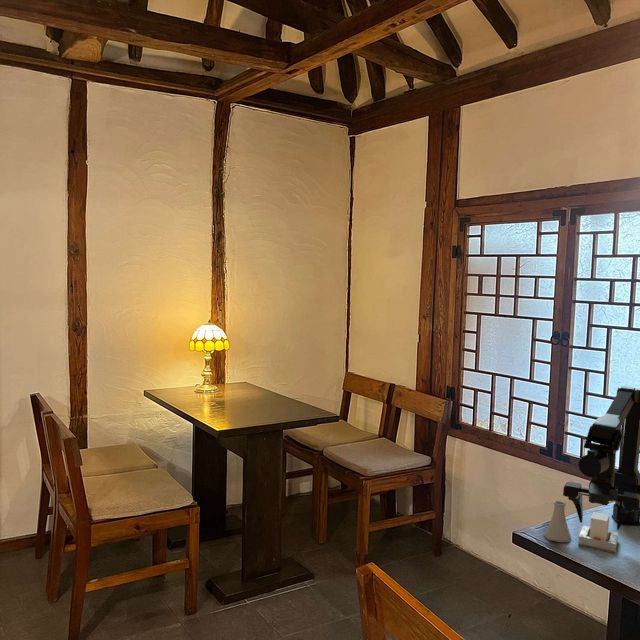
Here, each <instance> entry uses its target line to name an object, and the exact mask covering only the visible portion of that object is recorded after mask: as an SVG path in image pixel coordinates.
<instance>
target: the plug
mask: <svg viewBox="0 0 640 640" xmlns="http://www.w3.org/2000/svg"><path fill="white" fill-rule="evenodd" d="M609 525H610V514H606V513H602V512H597V511H593V512H592V515H591V516H590V525H589V527H590V537H591V538H594V537H599V538H601V540H605V541H607V540H608V531H609Z"/></svg>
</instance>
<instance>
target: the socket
mask: <svg viewBox="0 0 640 640" xmlns="http://www.w3.org/2000/svg"><path fill="white" fill-rule="evenodd" d="M577 543H578V544H577V546H579V545H581V547H584V546H585V547H586V548H588V547H589V548H588V549H594V550H598V551H603V552H606V553H611V554H616V551H617V547H618V544H619V532H617V531H612V530H608V540H607V541H605V540H601V538H599V537H594V538H591V537H590V526H587V525H584V524H583V525H582V528H581V531H580V532H579V534H578V542H577ZM585 547H584V548H585Z"/></svg>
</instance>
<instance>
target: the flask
mask: <svg viewBox="0 0 640 640" xmlns="http://www.w3.org/2000/svg"><path fill="white" fill-rule="evenodd" d="M566 504H567V503H566V502H565V501H561V500H553V505H554V506H553V513H552V516H551V519H550V521H549V523H548V525H547V528H546V530H545V532H544V534H543V537H545V538H546V539H547V540H548V541H553V542H556V543H570V542H571V540H572V536H571V533H570V529H569V526H568V523H567V518H566V514H565V507H566Z"/></svg>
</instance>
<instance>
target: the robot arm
mask: <svg viewBox="0 0 640 640" xmlns="http://www.w3.org/2000/svg"><path fill="white" fill-rule="evenodd" d="M623 424H624V430H623V431H624V432H623V431H622V426H623ZM621 446H622V451H621V460H620V466H619V468H618V469H617V470H616V460H617V459H616V457H617V452H618V451H620V448H621ZM583 449H588V450H587V451H586V452H587V453H586V454H585V455H583V456H582V457H581V458H580V459H579V461H578V468H579V471H580V472H581V474H582V475H584V476H586V477H587V478H590V482H589V484H588V488H585V487H582V483H580V482H574V481H567V482H566V483H565V484H564V486H563V490H562V491H563V492H562V493H563V494H562V496H564V497H567V499H568V500H569V501H572V503H573V505H574V507H575V509H576V513H577V516H578V520H579V522H580V524H581V523H583V519H584V518H583V517H584V516H583V515H584V513H583V511H584V509H583V496H587V497H588V502H589V503H591V504H599V505H602V506H609V504H610V503H609V502H614V503H613V505H612V514H611V518H613V519H614V520H615V521H616V522H617V524H616V525H617V526H616V531H619V530H620V528H621V526H622V525H623V526H640V471H639V469H638V468H639V463H640V462H639V461H640V389H637V388H635V387H628V386H618V388H617V390H616V395H615V397H614V398H613V400H612V402H611V404H610V406H609V407H608V409H607V411H606V413H605V414H604V415H602V416H600V417H598V418H596V419H595V421H594V422H593V423H592V425H590V427H589V429H588V432H587V434H586V438H585V441H584V445H583ZM615 471H616V472H615Z"/></svg>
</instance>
